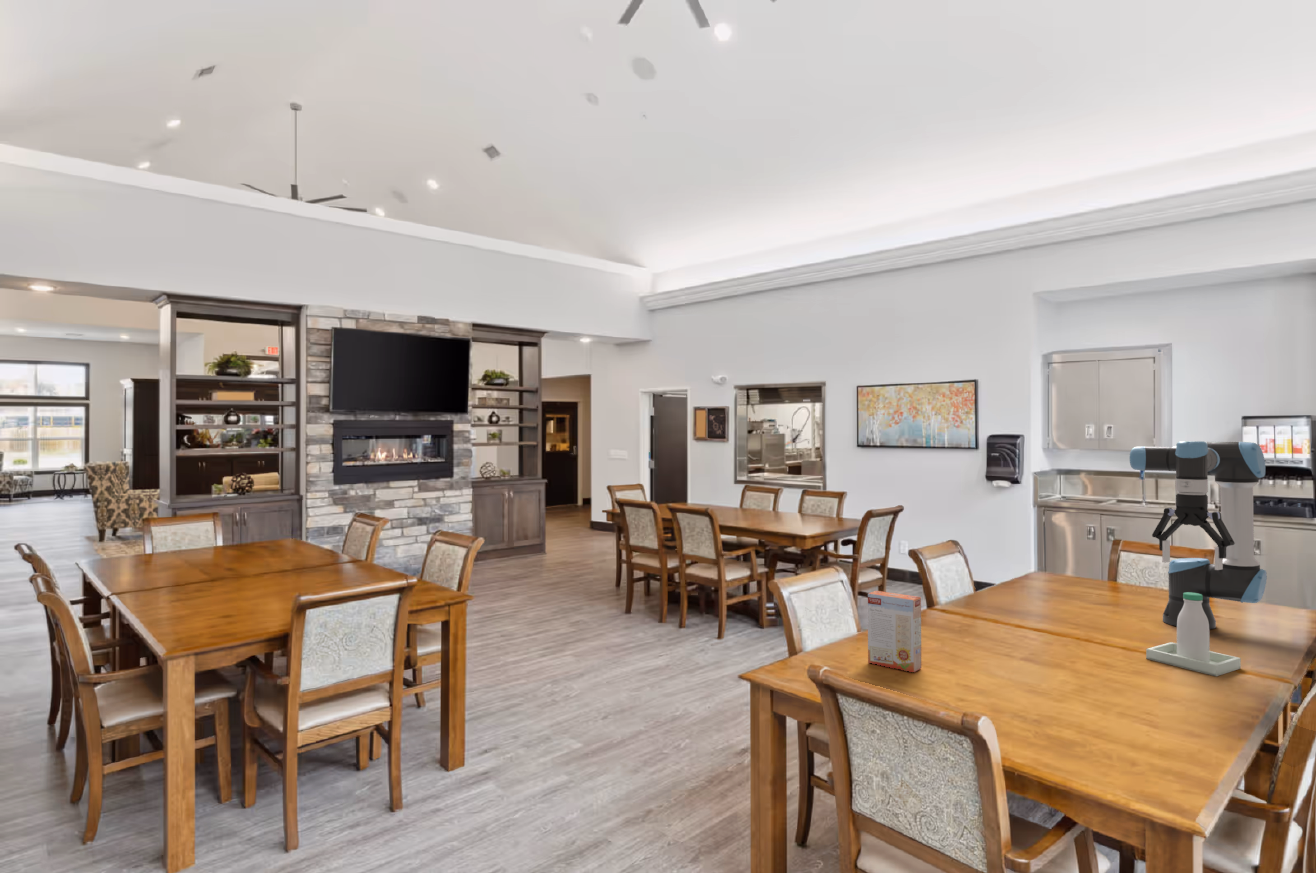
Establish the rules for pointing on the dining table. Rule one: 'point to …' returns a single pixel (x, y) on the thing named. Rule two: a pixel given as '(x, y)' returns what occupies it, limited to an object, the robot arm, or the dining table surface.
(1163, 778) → the dining table surface
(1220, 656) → the tray
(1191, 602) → the milk bottle
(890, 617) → the cracker box
